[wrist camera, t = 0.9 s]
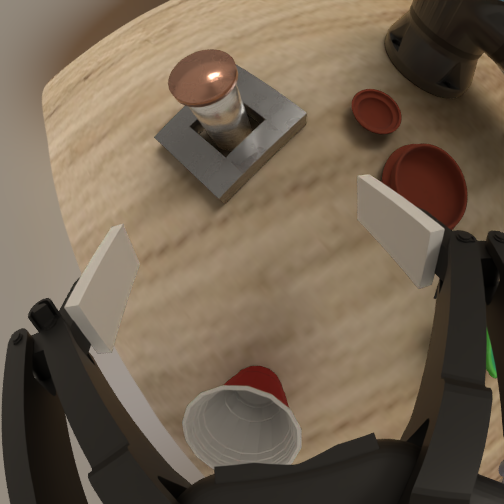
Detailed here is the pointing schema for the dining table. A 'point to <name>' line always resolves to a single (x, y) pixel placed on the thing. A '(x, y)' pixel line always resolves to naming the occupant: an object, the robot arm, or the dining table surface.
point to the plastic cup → (243, 422)
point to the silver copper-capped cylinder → (212, 95)
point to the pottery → (414, 162)
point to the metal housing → (248, 151)
